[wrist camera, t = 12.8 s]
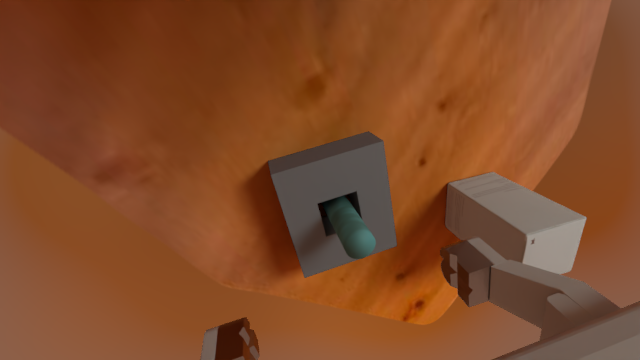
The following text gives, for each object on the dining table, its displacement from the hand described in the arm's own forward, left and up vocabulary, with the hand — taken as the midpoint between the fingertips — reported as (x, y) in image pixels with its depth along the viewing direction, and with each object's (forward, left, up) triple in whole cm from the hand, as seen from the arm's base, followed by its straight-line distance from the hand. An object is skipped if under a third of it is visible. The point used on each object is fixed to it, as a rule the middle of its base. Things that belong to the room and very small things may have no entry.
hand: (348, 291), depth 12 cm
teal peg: (-4, +9, -23) cm, 25 cm away
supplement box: (-23, +16, -23) cm, 36 cm away
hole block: (-4, +9, -23) cm, 25 cm away
